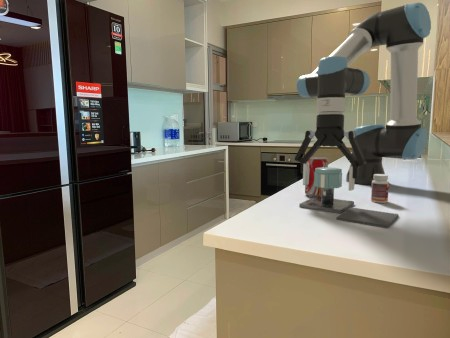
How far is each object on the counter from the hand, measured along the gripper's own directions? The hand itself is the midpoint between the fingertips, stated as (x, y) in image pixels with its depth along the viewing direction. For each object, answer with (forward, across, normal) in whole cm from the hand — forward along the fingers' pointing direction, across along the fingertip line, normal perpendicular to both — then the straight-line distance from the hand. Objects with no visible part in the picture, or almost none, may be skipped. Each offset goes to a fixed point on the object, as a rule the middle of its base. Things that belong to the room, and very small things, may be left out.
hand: (327, 187), depth 97 cm
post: (+6, 0, 0) cm, 6 cm away
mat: (+6, +13, -6) cm, 15 cm away
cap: (0, 0, 0) cm, 0 cm away
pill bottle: (+6, +11, +15) cm, 19 cm away
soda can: (+6, -8, +11) cm, 15 cm away
